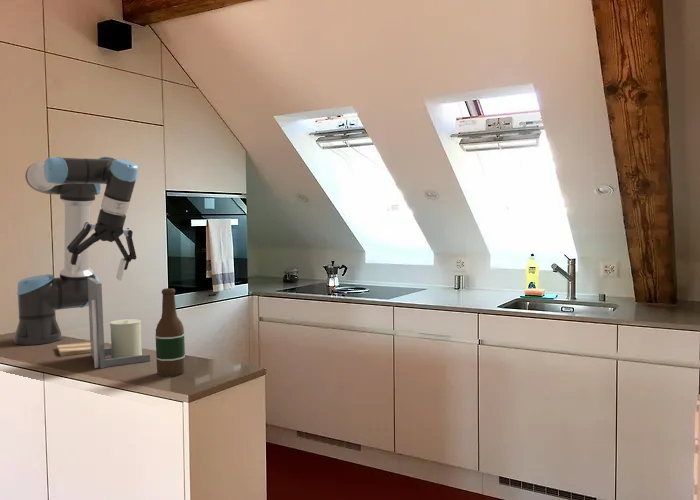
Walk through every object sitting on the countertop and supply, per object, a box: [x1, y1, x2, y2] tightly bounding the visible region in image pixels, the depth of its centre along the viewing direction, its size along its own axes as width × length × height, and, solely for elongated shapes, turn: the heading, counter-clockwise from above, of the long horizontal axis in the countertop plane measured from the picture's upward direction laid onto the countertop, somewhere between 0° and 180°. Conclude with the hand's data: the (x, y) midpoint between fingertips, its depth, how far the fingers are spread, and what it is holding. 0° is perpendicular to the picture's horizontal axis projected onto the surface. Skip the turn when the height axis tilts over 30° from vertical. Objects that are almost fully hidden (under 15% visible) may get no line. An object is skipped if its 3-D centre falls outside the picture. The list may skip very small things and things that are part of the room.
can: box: [109, 318, 143, 359], centre depth 194 cm, size 9×9×12 cm
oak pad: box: [56, 341, 91, 357], centre depth 207 cm, size 13×13×1 cm
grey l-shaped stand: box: [88, 278, 151, 369], centre depth 193 cm, size 20×16×25 cm
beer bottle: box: [155, 287, 186, 378], centre depth 174 cm, size 8×8×24 cm
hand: (96, 276), depth 189 cm, fingers open, 13 cm apart
